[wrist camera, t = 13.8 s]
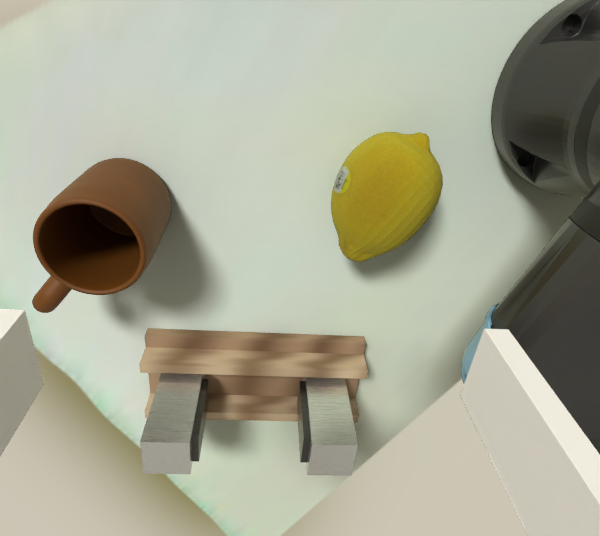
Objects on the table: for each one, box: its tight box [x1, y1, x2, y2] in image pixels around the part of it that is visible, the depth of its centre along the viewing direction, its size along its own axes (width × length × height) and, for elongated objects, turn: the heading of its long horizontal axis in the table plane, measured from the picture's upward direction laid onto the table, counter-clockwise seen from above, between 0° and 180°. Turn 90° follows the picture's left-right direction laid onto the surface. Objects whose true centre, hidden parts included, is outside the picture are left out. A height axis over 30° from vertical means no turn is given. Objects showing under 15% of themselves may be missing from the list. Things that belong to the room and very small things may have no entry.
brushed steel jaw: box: [140, 373, 209, 474], centre depth 43 cm, size 5×4×10 cm
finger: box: [297, 377, 358, 475], centre depth 44 cm, size 5×4×10 cm
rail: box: [140, 329, 368, 422], centre depth 47 cm, size 22×10×4 cm, turn 85°
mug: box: [32, 158, 171, 313], centre depth 35 cm, size 12×8×9 cm, turn 135°
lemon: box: [331, 132, 443, 262], centre depth 35 cm, size 11×8×8 cm
